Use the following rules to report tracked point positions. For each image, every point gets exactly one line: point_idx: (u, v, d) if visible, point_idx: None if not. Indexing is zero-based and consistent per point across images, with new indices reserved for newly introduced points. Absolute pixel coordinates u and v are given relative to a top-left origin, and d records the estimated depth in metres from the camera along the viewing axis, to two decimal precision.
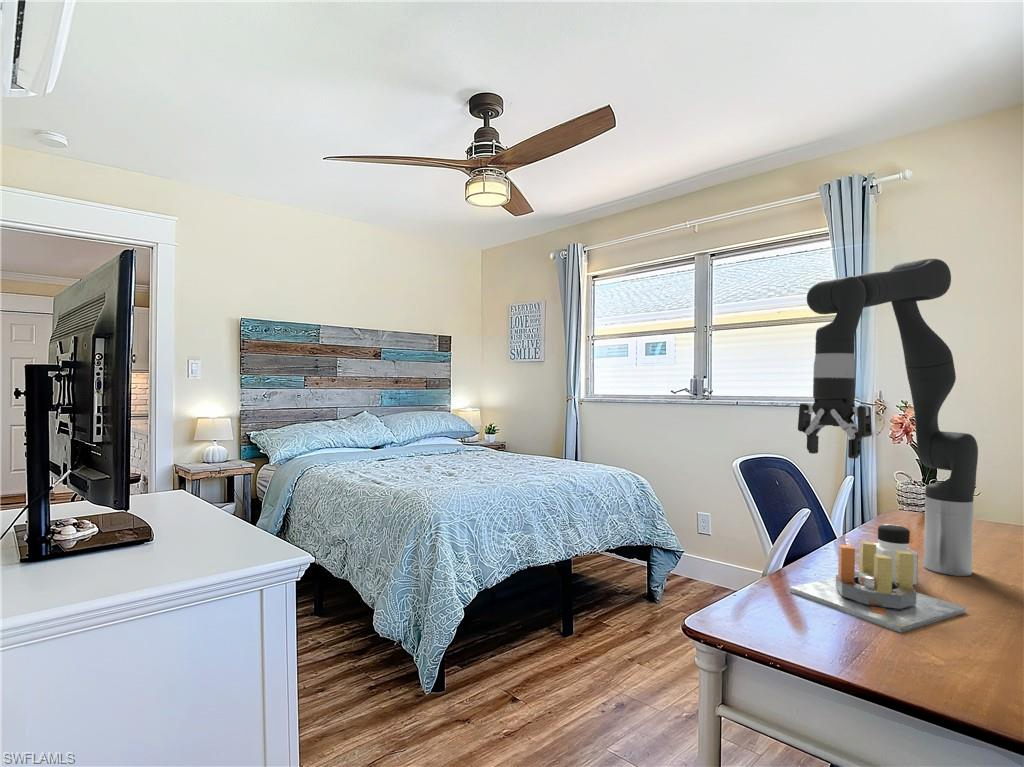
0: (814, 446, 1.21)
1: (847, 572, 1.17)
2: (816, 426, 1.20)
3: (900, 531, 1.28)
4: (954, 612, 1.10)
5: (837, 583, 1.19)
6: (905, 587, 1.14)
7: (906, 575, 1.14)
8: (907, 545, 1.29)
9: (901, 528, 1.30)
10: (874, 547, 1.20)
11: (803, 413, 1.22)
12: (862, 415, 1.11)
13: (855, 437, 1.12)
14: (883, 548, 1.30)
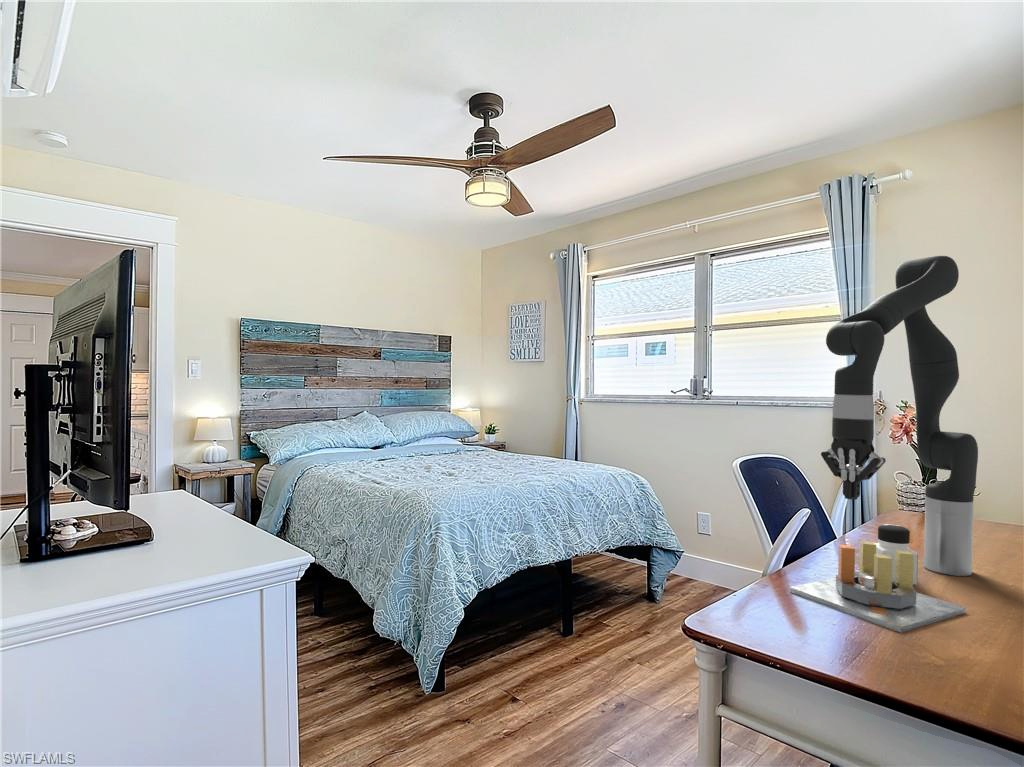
0: None
1: (847, 572, 1.17)
2: (846, 467, 1.21)
3: (900, 531, 1.28)
4: (954, 612, 1.10)
5: (837, 583, 1.19)
6: (905, 587, 1.14)
7: (906, 575, 1.14)
8: (907, 545, 1.29)
9: (901, 528, 1.30)
10: (874, 547, 1.20)
11: (828, 459, 1.24)
12: (872, 466, 1.16)
13: (855, 480, 1.19)
14: (883, 548, 1.30)
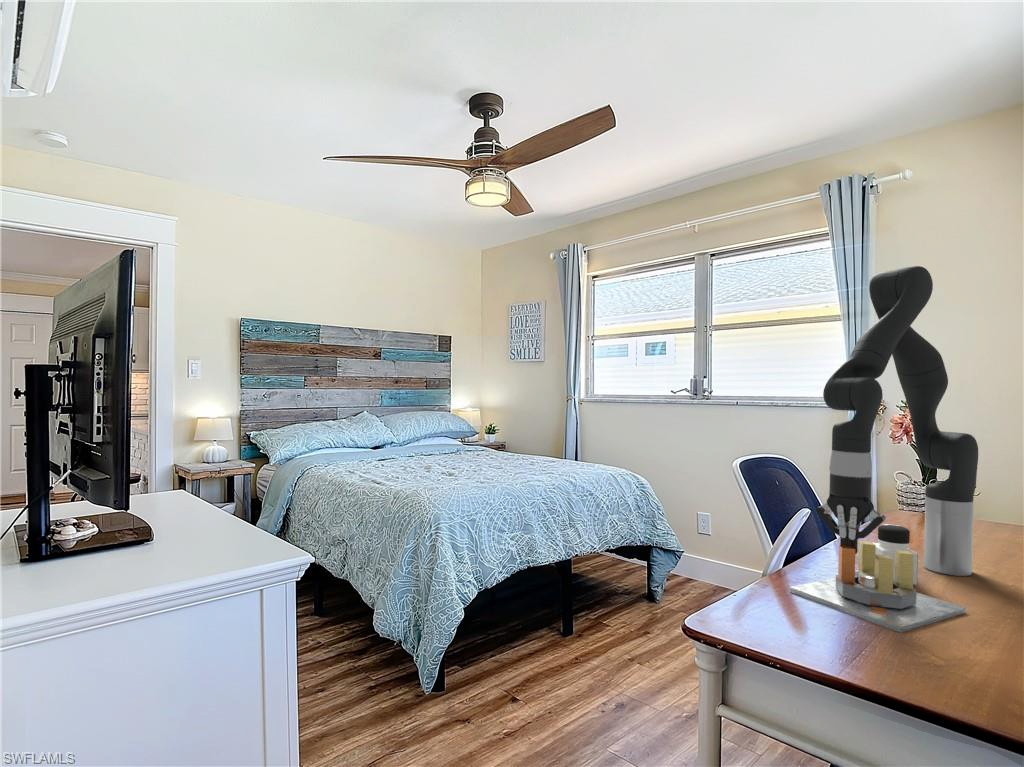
0: None
1: (847, 572, 1.17)
2: (845, 524, 1.19)
3: (900, 531, 1.28)
4: (954, 612, 1.10)
5: (837, 583, 1.19)
6: (905, 587, 1.14)
7: (906, 574, 1.14)
8: (907, 545, 1.29)
9: (901, 528, 1.30)
10: (873, 547, 1.20)
11: (825, 515, 1.22)
12: (876, 525, 1.15)
13: (855, 538, 1.18)
14: (883, 548, 1.30)
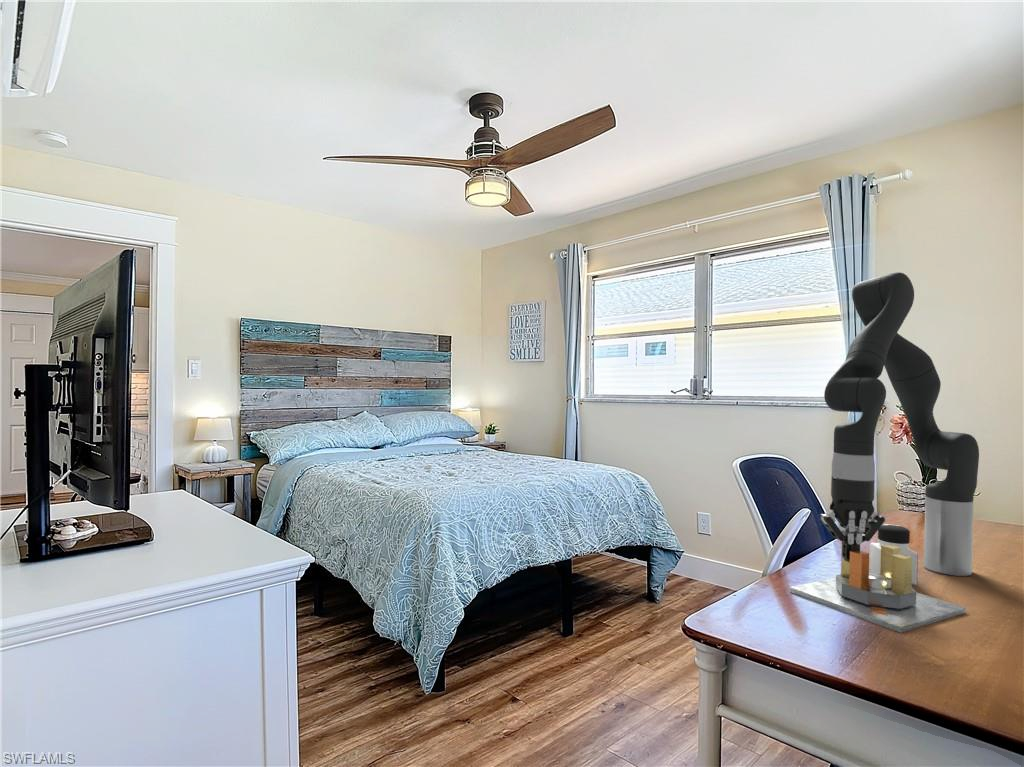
0: None
1: (864, 578, 1.13)
2: None
3: (900, 531, 1.28)
4: (954, 612, 1.10)
5: (848, 591, 1.15)
6: None
7: None
8: (907, 545, 1.29)
9: (901, 528, 1.30)
10: None
11: (834, 523, 1.15)
12: (879, 525, 1.15)
13: None
14: None
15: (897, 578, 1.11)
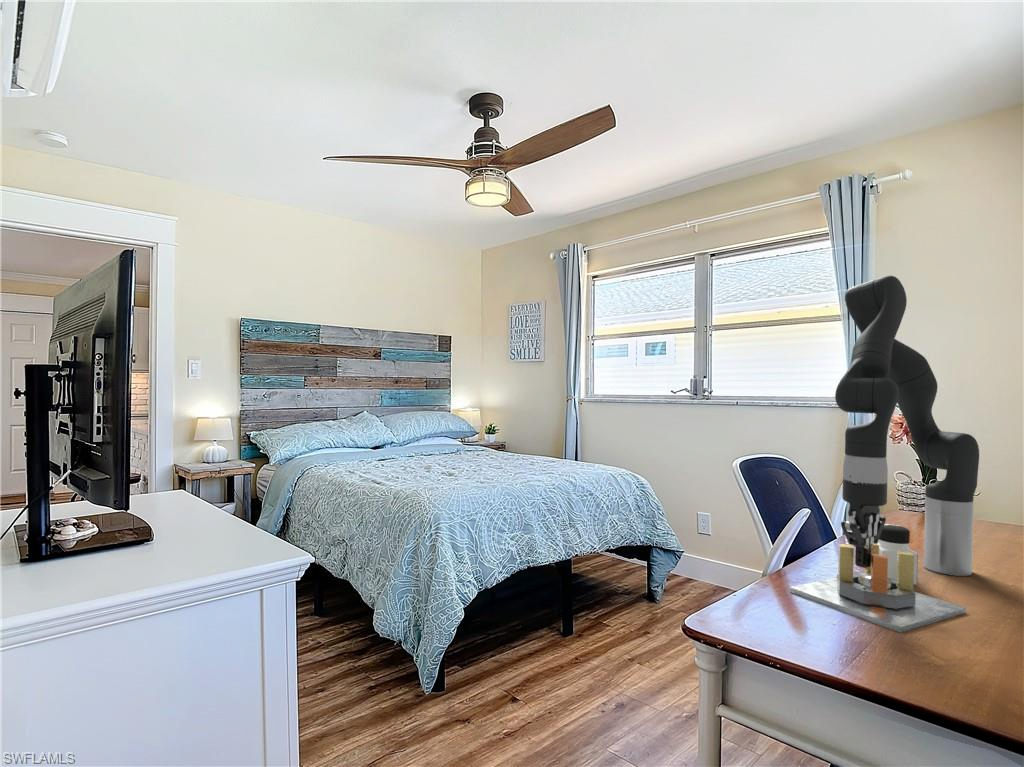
0: None
1: None
2: None
3: (900, 531, 1.28)
4: (954, 612, 1.10)
5: (872, 598, 1.11)
6: None
7: None
8: (907, 545, 1.29)
9: (901, 528, 1.30)
10: None
11: (858, 530, 1.10)
12: (883, 526, 1.15)
13: None
14: (883, 548, 1.30)
15: (905, 575, 1.13)
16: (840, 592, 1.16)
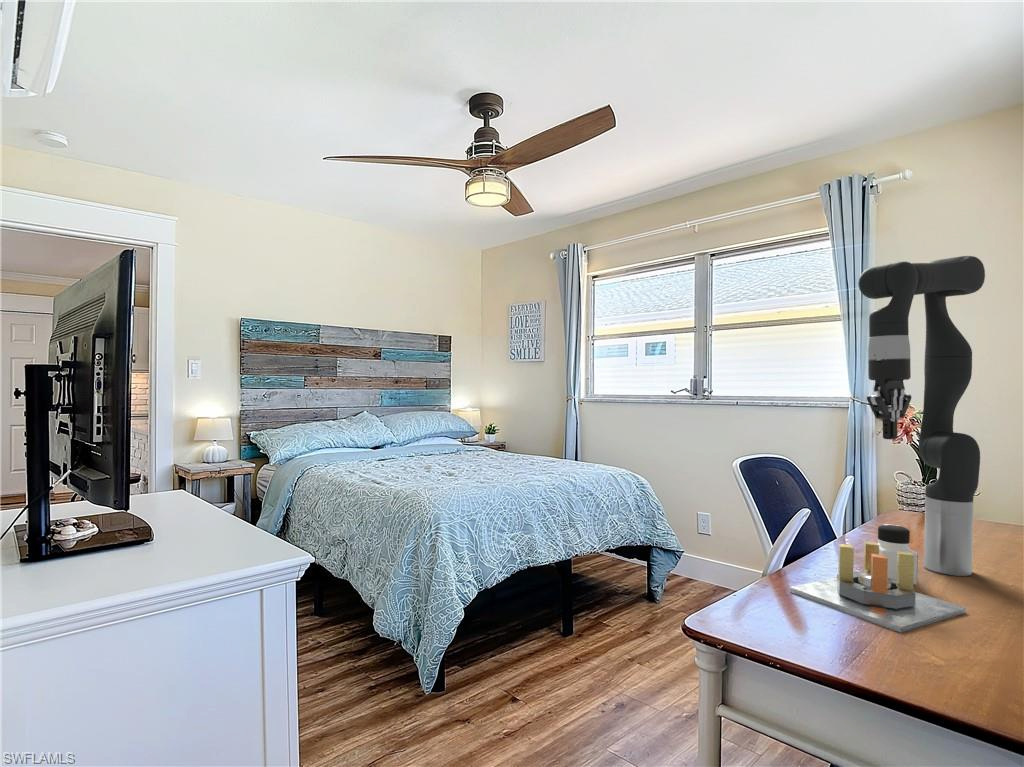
0: None
1: None
2: None
3: (900, 531, 1.28)
4: (954, 612, 1.10)
5: (872, 598, 1.11)
6: None
7: None
8: (907, 545, 1.29)
9: (901, 528, 1.30)
10: None
11: (883, 402, 1.19)
12: (908, 403, 1.24)
13: None
14: (883, 548, 1.30)
15: (905, 575, 1.13)
16: (840, 592, 1.16)
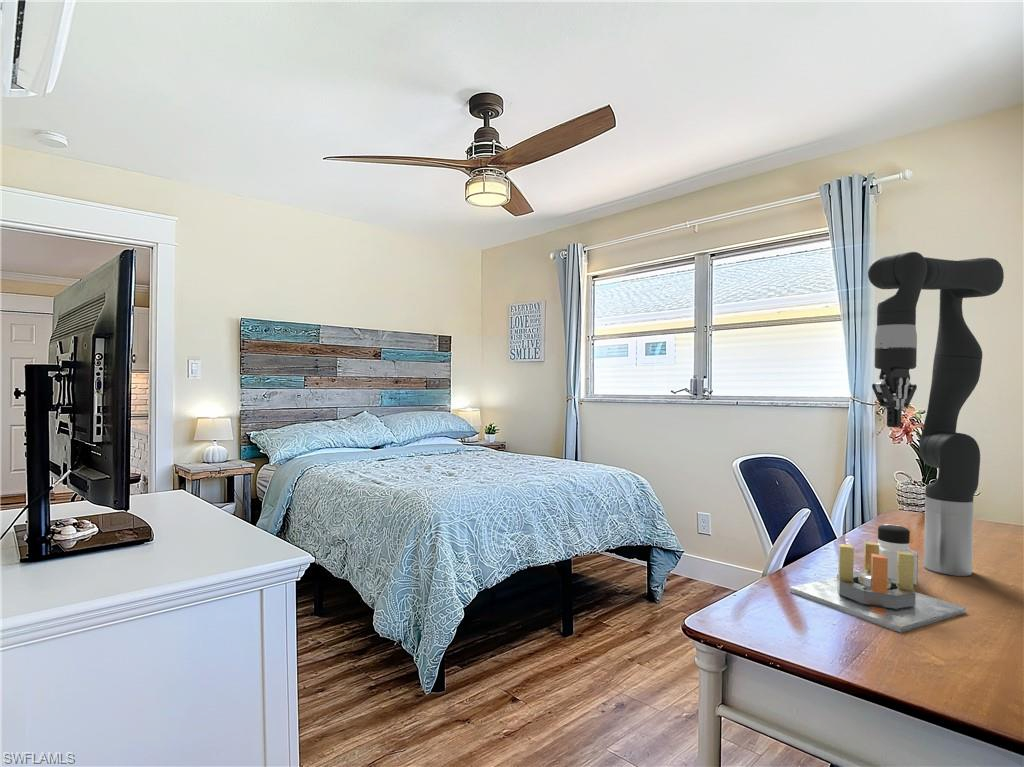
0: None
1: None
2: None
3: (900, 531, 1.28)
4: (954, 612, 1.10)
5: (872, 598, 1.11)
6: None
7: None
8: (907, 545, 1.29)
9: (901, 528, 1.30)
10: None
11: (888, 390, 1.21)
12: (913, 392, 1.25)
13: None
14: (883, 548, 1.30)
15: (905, 575, 1.13)
16: (840, 592, 1.16)
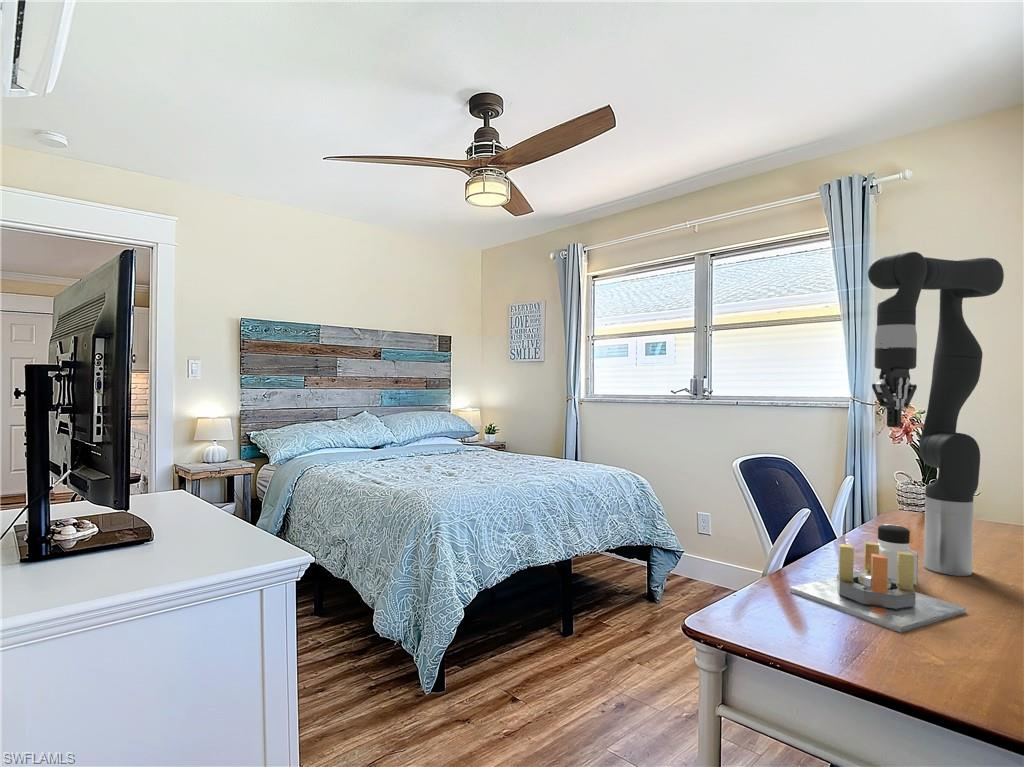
0: None
1: None
2: None
3: (900, 531, 1.28)
4: (954, 612, 1.10)
5: (872, 598, 1.11)
6: None
7: None
8: (907, 545, 1.29)
9: (901, 528, 1.30)
10: None
11: (888, 390, 1.21)
12: (913, 392, 1.25)
13: None
14: (883, 548, 1.30)
15: (905, 575, 1.13)
16: (840, 592, 1.16)
